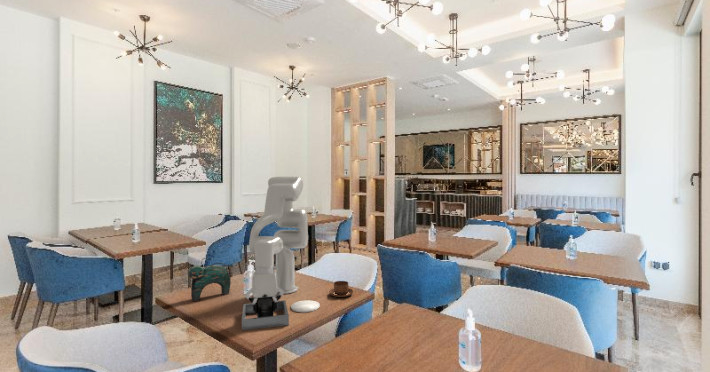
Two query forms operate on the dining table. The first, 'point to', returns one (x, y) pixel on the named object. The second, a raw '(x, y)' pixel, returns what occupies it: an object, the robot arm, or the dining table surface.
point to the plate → (305, 306)
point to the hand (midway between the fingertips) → (265, 311)
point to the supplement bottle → (265, 306)
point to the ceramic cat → (208, 278)
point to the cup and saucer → (341, 289)
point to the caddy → (265, 321)
